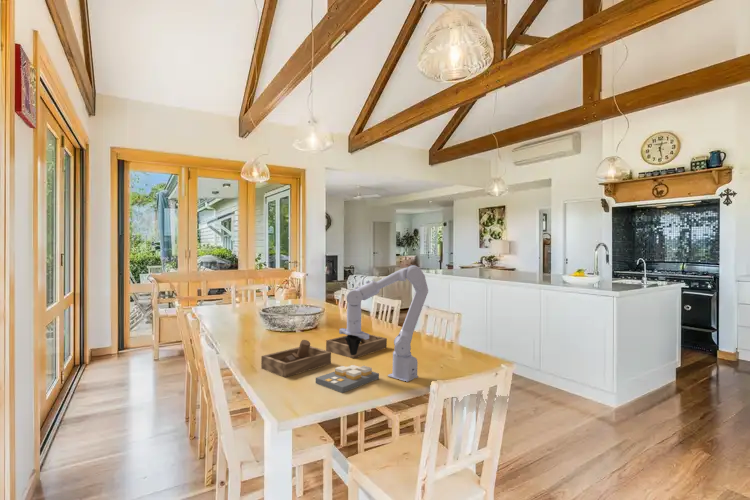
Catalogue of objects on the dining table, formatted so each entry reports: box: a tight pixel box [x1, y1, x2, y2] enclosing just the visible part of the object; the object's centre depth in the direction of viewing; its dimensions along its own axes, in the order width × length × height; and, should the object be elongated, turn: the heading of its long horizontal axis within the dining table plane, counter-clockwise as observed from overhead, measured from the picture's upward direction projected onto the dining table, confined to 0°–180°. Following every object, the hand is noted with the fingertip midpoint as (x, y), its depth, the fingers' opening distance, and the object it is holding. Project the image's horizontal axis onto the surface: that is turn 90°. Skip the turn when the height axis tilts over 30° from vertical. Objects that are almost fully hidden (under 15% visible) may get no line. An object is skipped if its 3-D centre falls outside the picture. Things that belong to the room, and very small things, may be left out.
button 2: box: [346, 369, 361, 380], centre depth 149 cm, size 4×4×2 cm
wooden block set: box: [285, 339, 311, 363], centre depth 166 cm, size 18×9×10 cm, turn 142°
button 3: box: [347, 364, 360, 370], centre depth 158 cm, size 4×4×2 cm
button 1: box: [357, 365, 373, 376], centre depth 154 cm, size 4×4×2 cm
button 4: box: [334, 365, 350, 377], centre depth 153 cm, size 4×4×2 cm
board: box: [315, 371, 380, 394], centre depth 151 cm, size 14×20×2 cm
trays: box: [260, 333, 388, 378], centre depth 181 cm, size 18×60×5 cm, turn 140°
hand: (353, 354), depth 158 cm, fingers closed
